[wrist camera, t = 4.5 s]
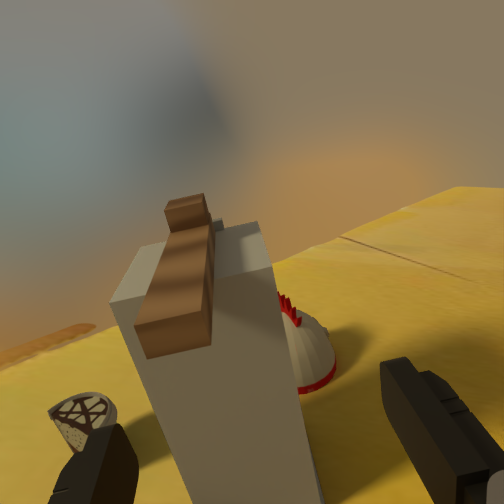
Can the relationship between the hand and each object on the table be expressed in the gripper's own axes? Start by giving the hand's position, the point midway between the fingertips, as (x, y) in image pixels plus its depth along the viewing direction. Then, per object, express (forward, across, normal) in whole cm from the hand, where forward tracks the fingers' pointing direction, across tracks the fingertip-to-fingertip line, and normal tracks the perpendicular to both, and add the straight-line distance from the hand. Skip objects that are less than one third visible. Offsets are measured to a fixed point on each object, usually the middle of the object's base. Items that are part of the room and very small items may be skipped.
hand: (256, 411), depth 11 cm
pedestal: (+24, -4, -38) cm, 45 cm away
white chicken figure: (+44, +5, -39) cm, 59 cm away
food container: (+34, -28, -38) cm, 58 cm away
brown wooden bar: (+20, -4, -5) cm, 21 cm away
